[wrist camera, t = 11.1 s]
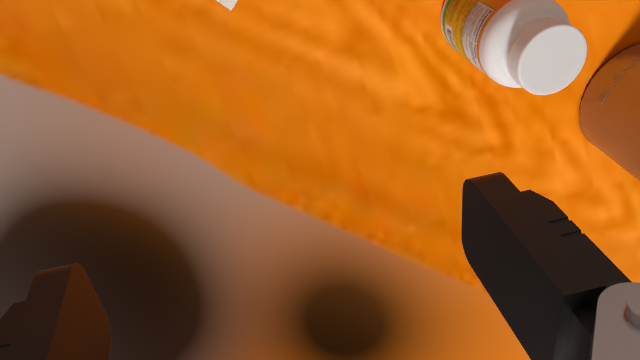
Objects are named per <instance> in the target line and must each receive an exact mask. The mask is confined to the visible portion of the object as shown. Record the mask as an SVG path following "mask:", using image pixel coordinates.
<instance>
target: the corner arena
mask: <svg viewBox="0 0 640 360" xmlns="http://www.w3.org/2000/svg"><path fill="white" fill-rule="evenodd" d="M216 1H218V2H219V3H221V4H222V5H224V6H225V7H227V8H228V9H229V10H232V8H233V7H234V5H235V4H236V2H237V1H238V0H216Z"/></svg>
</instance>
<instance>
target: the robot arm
mask: <svg viewBox="0 0 640 360" xmlns="http://www.w3.org/2000/svg"><path fill="white" fill-rule="evenodd" d="M579 123H580V127H581V130H582V133H583V134H584V136H585V137H586V139H587V140H588V141H590V142H591V143H592V144H593V145H595V146H596V147H597V148H598V149H600V150H601V151H602V152H604V153H605V154H606V155H607V156H609V157H610V158H611V159H612V160H614V161H615V162H616V163H617V164H619V165H620V166H621V167H622V168H624V169H625V170H626V171H627V172H629V173H630V174H631V175H633V176H634V177H635V178H636V179H638V180H639V181H640V44H636V45H634V46H632V47H630V48H628V49H625V50H623V51H622V52H620V53H619V54H617V55H616V56H614V57H613V58H612V59H611V60H609V61H608V62H607V63H606V64H605V65H604V66H603V67H602V68H601V69H600V70H599V71H598V73H597V74H596V75H595V76H594V77H593V79H592V80H591V82H590V84H589V85H588V87H587V89H586V91H585V93H584V96H583V98H582V101H581V105H580V110H579ZM462 244H463V248H464V252H465V255H466V258H467V260H468V262H469V264H470V265H471V267H472V269H473V270H474V272H475V273H476V275H477V276H478V278H479V279H480V281H481V283H482V284H483V286H484V287H485V289H486V290H487V292H488V293H489V295H490V297H491V298H492V300H493V301H494V303H495V304H496V306H497V307H498V309H499V310H500V312H501V314H502V315H503V317H504V318H505V320H506V321H507V323H508V325H509V326H510V327H511V329H512V331H513V332H514V334H515V335H516V337H517V339H518V340H519V342H520V343H521V345H522V346H523V348H524V349H525V351H526V353H527V354H528V355H529V357H530V359H531V360H640V283H634V282H631V281H630V280H629V279H628V278H627V277H626V276H625V275H624V274H623V273H622V272H621V271H620V270H619V269H618V268H617V267H616V266H615V265H614V264H613V263H612V261H611V260H610V259H609V258H608V257H607V256H606V255H605V254H604V253H603V252H602V251H601V250H600V249H599V248H598V247H597V246H596V245H595V244H594V243H593V242H592V241H591V240H590V239H589V238H588V237H587V236H586V235H585V234H582V233H581V230H580V229H579V228H578V227H577V226H576V225H575V224H574V223H573V222H572V221H571V220H570V221H569V220H568V217H567V215H566V214H565V213H564V212H563V211H562V210H561V209H560V208H559V207H558V206H557V205H556V204H555V203H554V202H553V201H551V200H549V199H547V198H545V197H543V196H541V195H539V194H537V193H535V192H533V191H532V190H527V191H522V192H520V191H519V190H518V189H517V188H516V187H515V185H514V184H513V183H512V182H511V181H510V180H509V179H508V178H507V177H506V176H505V175H504V174H503V173H501V172H498V173H494V174H489V175H484V176H480V177H475V178H471V179H466V180H465V182H464V184H463V198H462ZM110 349H111V331H110V325H109V321H108V318H107V316H106V314H105V311H104V309H103V307H102V305H101V303H100V301H99V299H98V297H97V295H96V293H95V291H94V289H93V287H92V285H91V282H90V280H89V278H88V276H87V274H86V272H85V270H84V269H83V267H82V266H81V265H80V264H77V263H76V264H72V265H67V266H62V267H57V268H53V269H49V270H44V271H40V272H37V273H36V275H35V276H34V279H33V282H32V285H31V287H30V290H29V293H28V296H27V298H26V301H22V302H18V303H14V304H13V305H12V306H11V307H10V308H9V310H8V311H7V312H6V313H5V314H4V315H3V317H2V318H1V319H0V360H109V355H110Z"/></svg>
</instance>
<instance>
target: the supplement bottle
mask: <svg viewBox="0 0 640 360" xmlns="http://www.w3.org/2000/svg"><path fill="white" fill-rule="evenodd" d="M441 28H442V32H443V35H444V37H445V39H446V40H447V41H448V43H449V44H450V45H451V46H452V47H453V48H454V49H455V50H457V51H458V52H459V53H460V54H462V55H463V56H464V57H465V58H466V59H468V60H469V61H470V62H471V63H473V64H474V65H475V66H476V67H478V68H479V69H480V70H481V71H482V72H484V73H485V74H486V75H487V76H488V77H490V78H491V79H492V80H494V81H495V82H497V83H499V84H501V85H504V86H507V87H513V88H520V87H523V88H524V89H525V90H527V91H529V92H530V93H533V94H537V95H548V94H552V93H555V92H558V91H560V90H561V89H563V88H565V87H566V86H568V85H569V84H570V83H571V82H572V81H573V80H574V79H575V78H576V76H577V75H578V74H579V72H580V71H581V69H582V67H583V65H584V62H585V60H586V55H587V44H586V40H585V37H584V36H583V34H582V33H581V31H580V30H579V29H577V28H576V27H574V26H573V25H571V24H570V22H569V19H568V16H567V14H566V13H565V11H564V10H563V8H562V7H561V6H560V5H559V4H558V3H556V2H555V1H553V0H445V2H444V4H443V7H442V11H441Z"/></svg>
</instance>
